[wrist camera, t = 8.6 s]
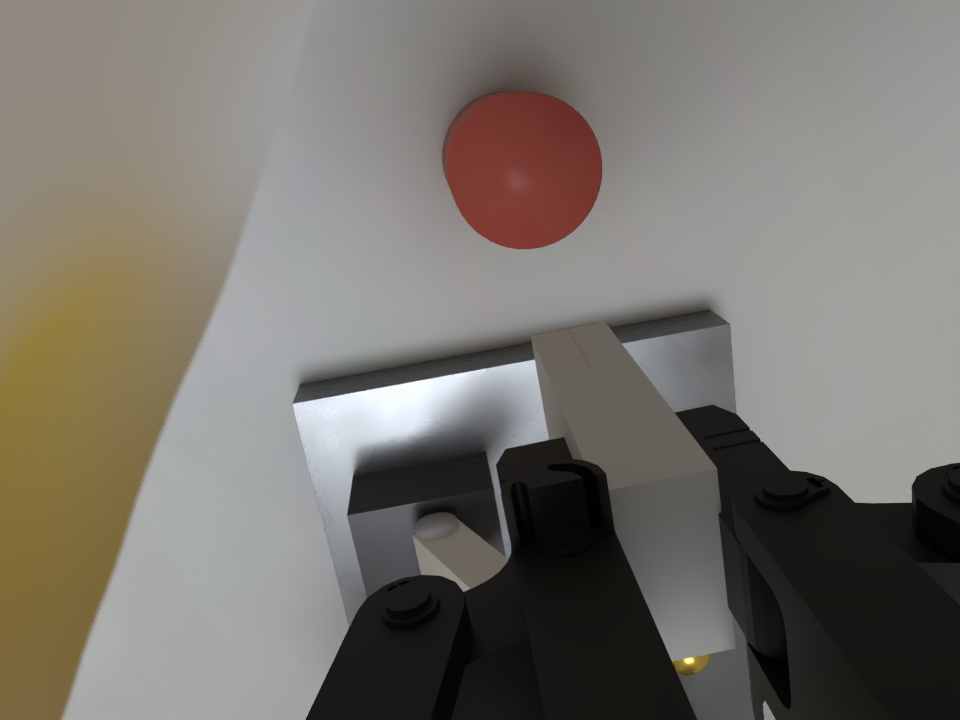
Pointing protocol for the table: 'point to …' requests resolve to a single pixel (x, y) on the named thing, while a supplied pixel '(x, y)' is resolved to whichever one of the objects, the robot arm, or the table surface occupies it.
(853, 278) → the table surface
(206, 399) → the table surface
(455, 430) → the panel
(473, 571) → the breaker
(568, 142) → the red rounded cylinder
